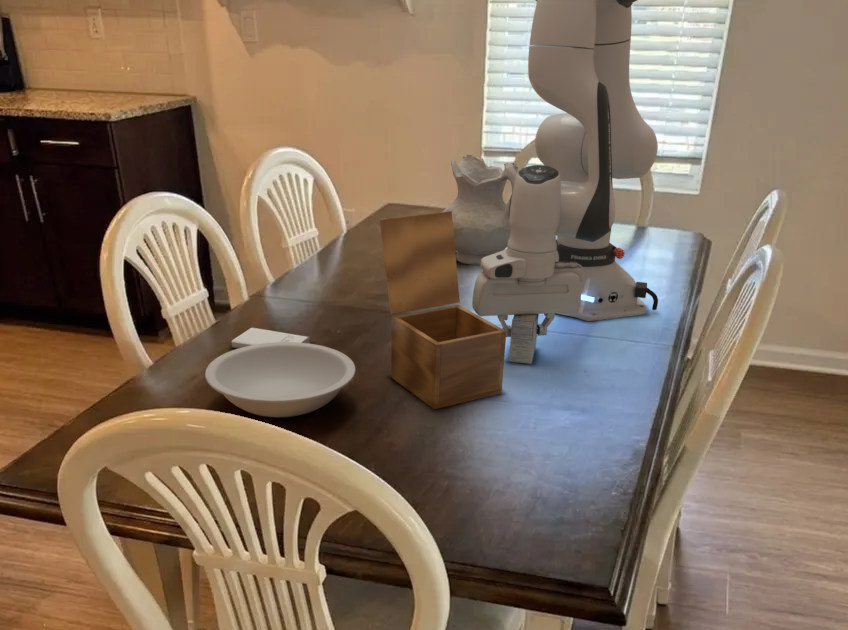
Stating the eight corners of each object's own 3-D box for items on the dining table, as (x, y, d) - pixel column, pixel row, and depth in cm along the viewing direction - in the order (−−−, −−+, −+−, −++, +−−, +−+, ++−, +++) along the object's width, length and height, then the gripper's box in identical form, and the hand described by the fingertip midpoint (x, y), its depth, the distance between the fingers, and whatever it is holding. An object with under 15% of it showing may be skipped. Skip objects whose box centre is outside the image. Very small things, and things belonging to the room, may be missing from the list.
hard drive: (253, 334, 168) (310, 343, 165) (231, 348, 161) (290, 358, 158) (252, 326, 167) (309, 335, 164) (231, 340, 161) (290, 350, 157)
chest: (501, 393, 148) (506, 330, 142) (434, 409, 141) (436, 344, 135) (455, 363, 158) (458, 304, 152) (391, 377, 152) (391, 316, 146)
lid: (452, 211, 147) (449, 211, 147) (381, 219, 140) (379, 219, 141) (459, 302, 152) (457, 302, 152) (392, 314, 145) (390, 313, 146)
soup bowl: (292, 454, 127) (290, 414, 123) (177, 413, 137) (172, 375, 134) (384, 398, 144) (384, 362, 141) (276, 366, 155) (273, 331, 151)
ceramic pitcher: (534, 263, 220) (546, 161, 208) (498, 275, 205) (510, 166, 193) (462, 249, 230) (470, 151, 218) (423, 260, 215) (430, 155, 203)
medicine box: (531, 364, 159) (536, 320, 154) (508, 362, 160) (512, 318, 155) (535, 349, 166) (540, 306, 161) (512, 347, 166) (516, 304, 162)
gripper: (579, 256, 158) (570, 327, 165) (472, 259, 154) (468, 331, 161) (591, 266, 153) (581, 339, 160) (480, 269, 149) (476, 343, 156)
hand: (523, 335), depth 160 cm, fingers closed on medicine box, 5 cm apart
